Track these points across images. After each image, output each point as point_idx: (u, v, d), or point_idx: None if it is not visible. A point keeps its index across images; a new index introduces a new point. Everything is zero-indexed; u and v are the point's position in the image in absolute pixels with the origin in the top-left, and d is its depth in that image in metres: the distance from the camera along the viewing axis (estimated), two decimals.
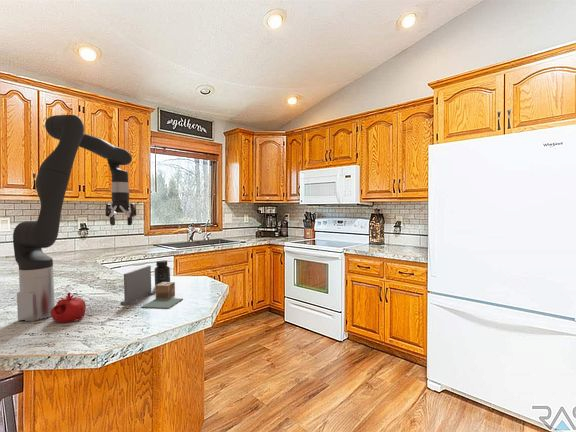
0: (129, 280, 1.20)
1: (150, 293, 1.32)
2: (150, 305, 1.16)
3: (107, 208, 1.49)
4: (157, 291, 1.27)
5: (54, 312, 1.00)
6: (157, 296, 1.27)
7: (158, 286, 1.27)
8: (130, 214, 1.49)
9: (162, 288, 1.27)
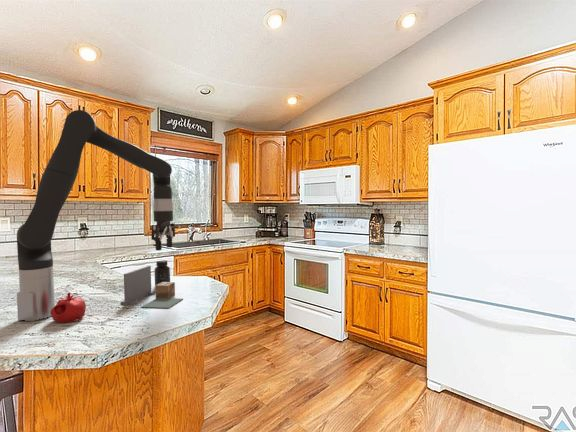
0: (129, 280, 1.20)
1: (150, 293, 1.32)
2: (150, 305, 1.16)
3: (158, 230, 1.22)
4: (157, 291, 1.27)
5: (54, 312, 1.00)
6: (157, 296, 1.27)
7: (158, 286, 1.27)
8: (172, 235, 1.34)
9: (162, 288, 1.27)
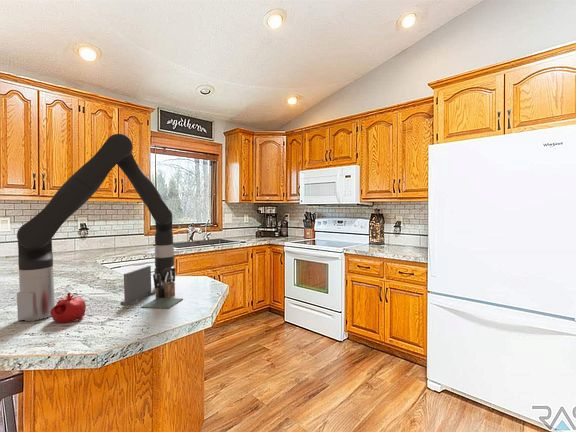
0: (129, 280, 1.20)
1: (150, 293, 1.32)
2: (150, 305, 1.16)
3: (160, 279, 1.24)
4: (157, 291, 1.27)
5: (54, 312, 1.00)
6: (157, 296, 1.27)
7: None
8: None
9: None
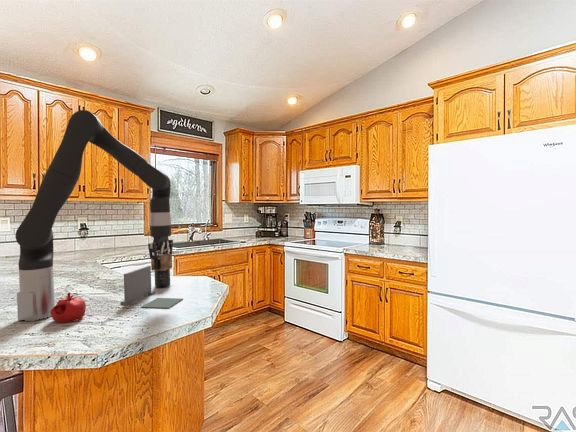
0: (129, 280, 1.20)
1: (150, 293, 1.32)
2: (150, 305, 1.16)
3: (155, 248, 1.14)
4: (153, 262, 1.17)
5: (54, 312, 1.00)
6: (153, 268, 1.17)
7: None
8: (168, 253, 1.24)
9: None
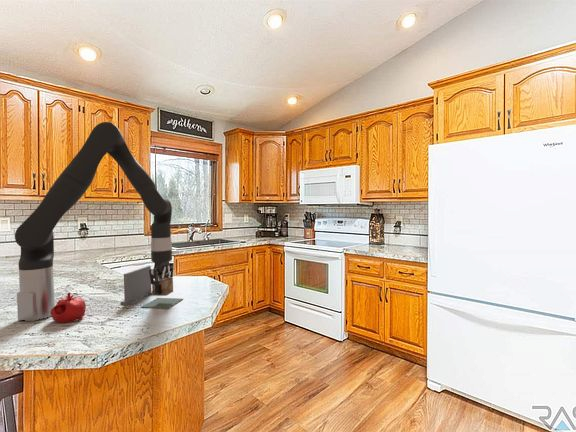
0: (129, 280, 1.20)
1: (150, 293, 1.32)
2: (150, 305, 1.16)
3: (156, 274, 1.14)
4: (154, 287, 1.18)
5: (54, 312, 1.00)
6: (154, 293, 1.18)
7: None
8: (169, 276, 1.24)
9: None
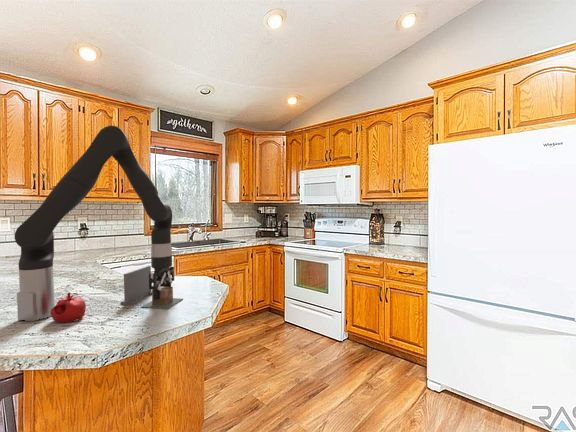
0: (129, 280, 1.20)
1: (150, 293, 1.32)
2: (150, 305, 1.16)
3: (156, 279, 1.14)
4: None
5: (54, 312, 1.00)
6: (154, 302, 1.18)
7: None
8: (171, 279, 1.25)
9: None
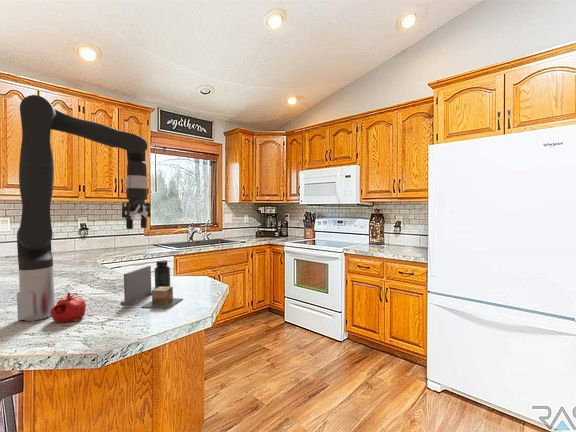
0: (129, 280, 1.20)
1: (150, 293, 1.32)
2: (150, 305, 1.16)
3: (129, 207, 1.16)
4: (154, 297, 1.18)
5: (54, 312, 1.00)
6: (154, 302, 1.18)
7: (155, 291, 1.17)
8: (146, 215, 1.28)
9: (159, 294, 1.17)
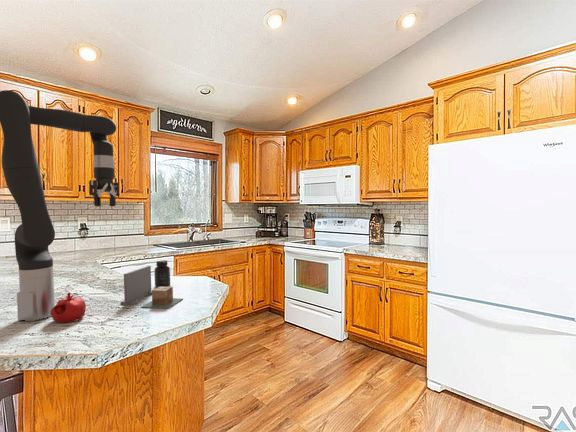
0: (129, 280, 1.20)
1: (150, 293, 1.32)
2: (150, 305, 1.16)
3: (96, 185, 1.22)
4: (154, 297, 1.18)
5: (54, 312, 1.00)
6: (154, 302, 1.18)
7: (155, 291, 1.17)
8: (115, 194, 1.33)
9: (159, 294, 1.17)
